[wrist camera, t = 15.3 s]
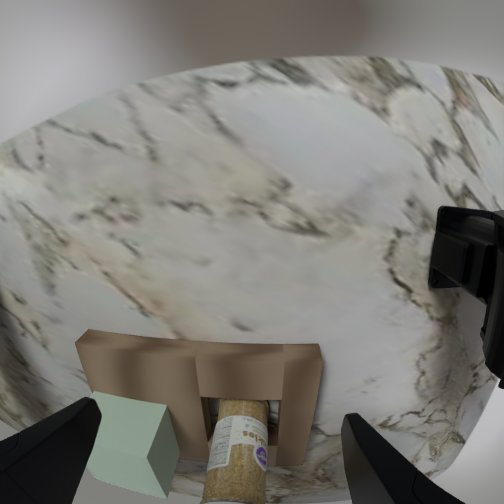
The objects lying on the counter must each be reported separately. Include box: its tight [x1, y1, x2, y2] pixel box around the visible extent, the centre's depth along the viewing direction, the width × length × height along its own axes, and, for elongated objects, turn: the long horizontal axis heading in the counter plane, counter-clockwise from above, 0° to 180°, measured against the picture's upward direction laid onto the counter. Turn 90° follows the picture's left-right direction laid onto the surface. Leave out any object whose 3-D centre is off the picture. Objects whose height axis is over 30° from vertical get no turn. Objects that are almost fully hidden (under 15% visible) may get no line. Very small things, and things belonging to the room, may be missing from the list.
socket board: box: [75, 329, 323, 466], centre depth 23 cm, size 20×14×2 cm
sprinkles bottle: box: [200, 398, 269, 504], centre depth 18 cm, size 5×5×14 cm
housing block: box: [86, 391, 180, 499], centre depth 20 cm, size 7×7×6 cm
